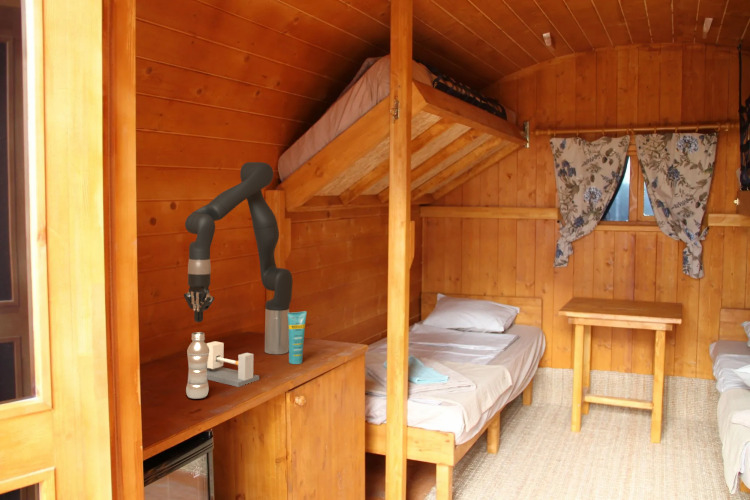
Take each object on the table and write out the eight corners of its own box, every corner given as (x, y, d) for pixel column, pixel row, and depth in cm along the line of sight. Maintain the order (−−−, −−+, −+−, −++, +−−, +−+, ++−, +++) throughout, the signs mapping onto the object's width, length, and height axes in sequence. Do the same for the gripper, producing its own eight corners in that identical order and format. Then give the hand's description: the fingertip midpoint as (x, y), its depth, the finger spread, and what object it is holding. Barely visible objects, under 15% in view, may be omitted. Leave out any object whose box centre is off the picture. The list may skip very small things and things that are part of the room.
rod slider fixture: (211, 368, 236) (212, 342, 235) (259, 380, 224) (259, 352, 223) (190, 375, 227) (190, 347, 226) (238, 387, 216) (238, 358, 215)
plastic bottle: (188, 394, 207) (188, 331, 205) (210, 394, 207) (211, 331, 205) (184, 401, 200) (184, 335, 198) (206, 401, 201) (207, 336, 199)
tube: (289, 365, 244) (290, 313, 242) (283, 362, 248) (285, 311, 246) (307, 363, 248) (309, 312, 246) (301, 360, 252) (303, 309, 250)
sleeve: (214, 363, 231) (215, 341, 230) (223, 365, 229) (223, 343, 228) (204, 366, 227) (204, 343, 226) (212, 368, 225) (213, 345, 224)
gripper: (221, 273, 229) (220, 322, 230) (193, 269, 236) (193, 317, 237) (205, 274, 222) (204, 326, 224) (177, 271, 229) (176, 320, 231)
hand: (198, 321), depth 230 cm, fingers closed
